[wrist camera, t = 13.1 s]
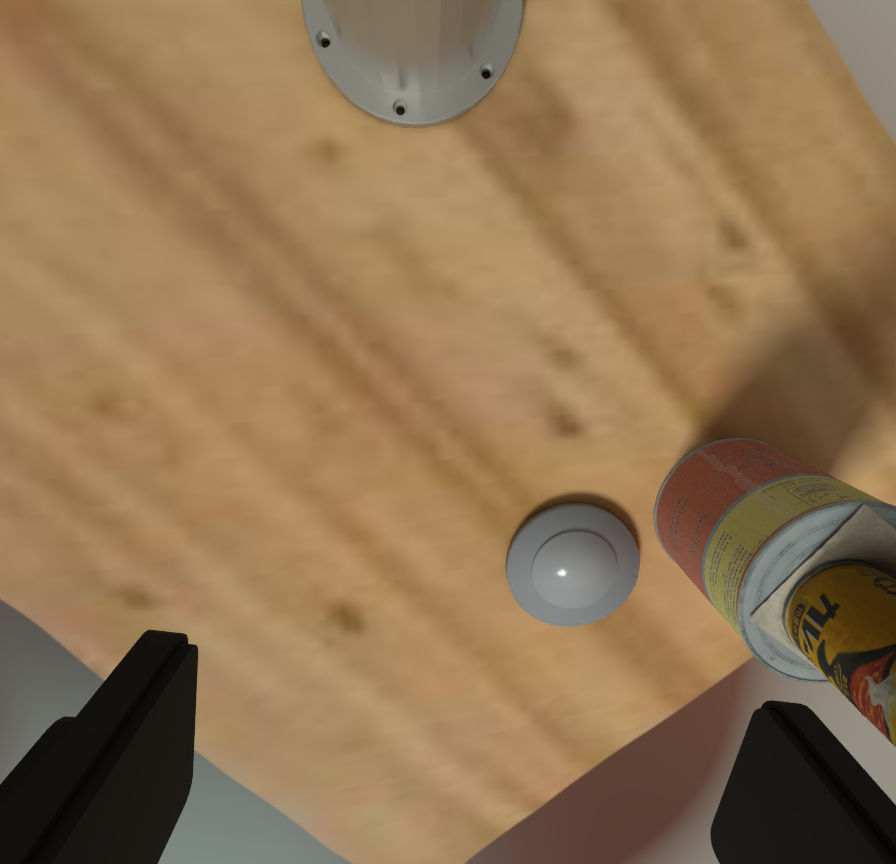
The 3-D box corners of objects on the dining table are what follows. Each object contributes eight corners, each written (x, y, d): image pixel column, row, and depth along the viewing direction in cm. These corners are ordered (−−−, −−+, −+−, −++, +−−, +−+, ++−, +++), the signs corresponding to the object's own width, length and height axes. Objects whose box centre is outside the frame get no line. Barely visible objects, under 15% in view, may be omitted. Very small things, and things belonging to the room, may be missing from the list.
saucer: (519, 493, 41) (522, 500, 39) (649, 511, 41) (655, 518, 40) (495, 610, 43) (497, 620, 42) (617, 625, 44) (623, 635, 43)
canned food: (746, 595, 44) (859, 710, 32) (625, 541, 42) (699, 640, 30) (831, 475, 41) (988, 552, 29) (706, 412, 39) (820, 467, 28)
